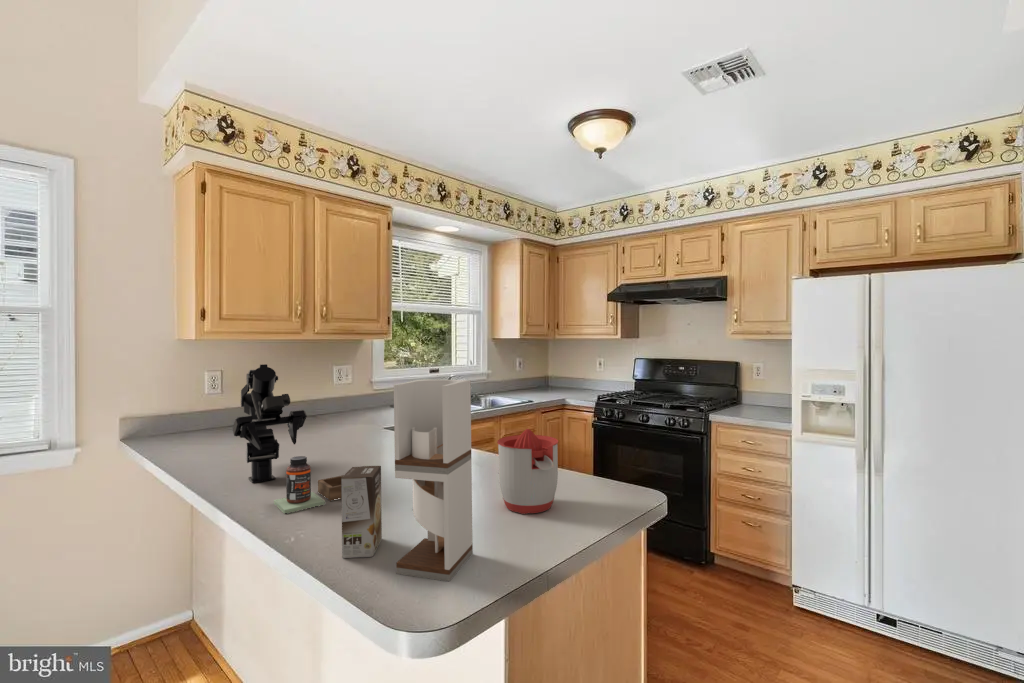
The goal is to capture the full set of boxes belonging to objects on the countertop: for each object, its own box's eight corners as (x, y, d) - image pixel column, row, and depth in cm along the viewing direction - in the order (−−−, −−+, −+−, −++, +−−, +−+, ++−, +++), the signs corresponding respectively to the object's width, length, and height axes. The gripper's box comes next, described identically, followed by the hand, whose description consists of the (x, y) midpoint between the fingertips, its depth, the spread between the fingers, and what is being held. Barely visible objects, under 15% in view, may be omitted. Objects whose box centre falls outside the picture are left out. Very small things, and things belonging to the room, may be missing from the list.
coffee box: (374, 557, 98) (373, 477, 97) (341, 559, 97) (340, 478, 97) (382, 538, 107) (381, 464, 106) (352, 539, 106) (351, 465, 106)
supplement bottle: (295, 505, 125) (294, 461, 125) (281, 501, 128) (280, 458, 128) (315, 499, 130) (315, 456, 130) (302, 495, 133) (301, 453, 133)
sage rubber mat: (274, 503, 130) (274, 500, 130) (313, 495, 136) (312, 492, 136) (284, 514, 122) (284, 510, 122) (325, 504, 128) (325, 501, 128)
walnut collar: (317, 492, 139) (317, 480, 139) (352, 485, 145) (352, 473, 145) (330, 501, 131) (330, 488, 131) (366, 493, 138) (365, 480, 138)
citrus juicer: (519, 525, 113) (518, 438, 113) (488, 502, 129) (487, 426, 129) (575, 513, 121) (574, 431, 120) (539, 493, 136) (538, 421, 136)
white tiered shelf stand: (424, 548, 102) (422, 379, 101) (472, 554, 98) (470, 380, 98) (396, 573, 91) (393, 384, 90) (449, 581, 88) (446, 385, 87)
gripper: (234, 388, 135) (247, 433, 127) (303, 382, 148) (319, 424, 140) (227, 413, 141) (239, 458, 133) (294, 406, 153) (308, 447, 146)
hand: (278, 446), depth 137 cm, fingers open, 9 cm apart
